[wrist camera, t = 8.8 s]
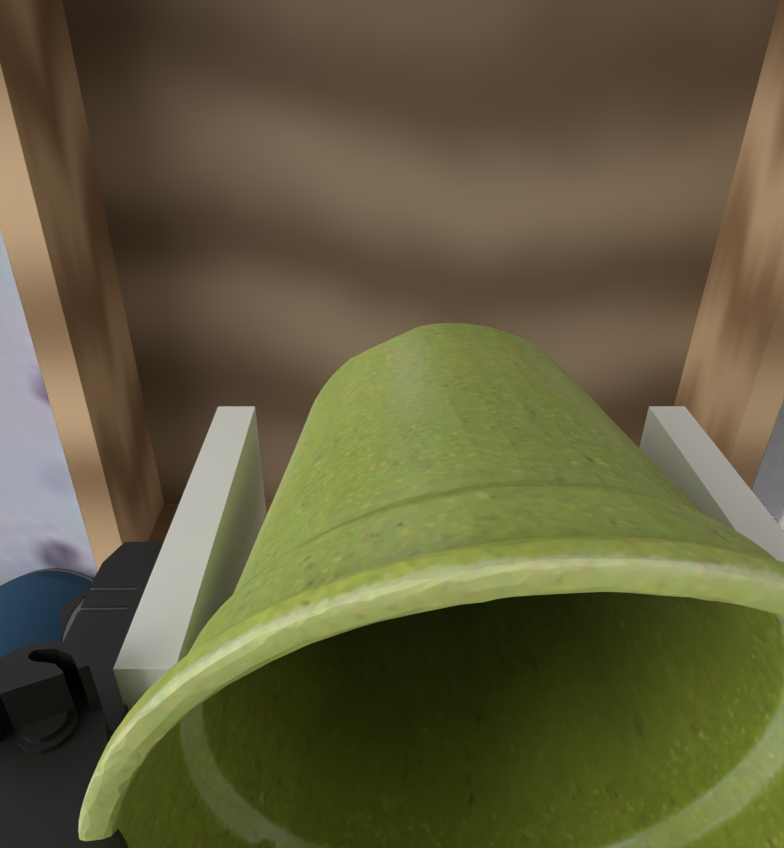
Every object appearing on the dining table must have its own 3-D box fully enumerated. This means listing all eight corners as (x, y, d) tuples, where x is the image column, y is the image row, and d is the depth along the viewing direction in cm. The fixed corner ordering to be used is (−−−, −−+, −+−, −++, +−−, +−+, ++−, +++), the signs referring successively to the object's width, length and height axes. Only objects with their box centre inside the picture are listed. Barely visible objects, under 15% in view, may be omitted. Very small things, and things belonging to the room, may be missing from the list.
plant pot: (752, 309, 13) (1234, 684, 6) (558, 634, 18) (688, 1073, 10) (279, 168, 12) (118, 436, 4) (200, 563, 16) (56, 1022, 9)
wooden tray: (1, -165, 20) (-130, -227, 15) (840, -148, 21) (996, -201, 15) (148, 510, 33) (106, 602, 28) (661, 508, 33) (713, 598, 28)
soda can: (-18, 625, 37) (-171, 864, 26) (15, 539, 34) (-142, 770, 23) (108, 667, 39) (11, 904, 28) (150, 588, 36) (60, 823, 25)
